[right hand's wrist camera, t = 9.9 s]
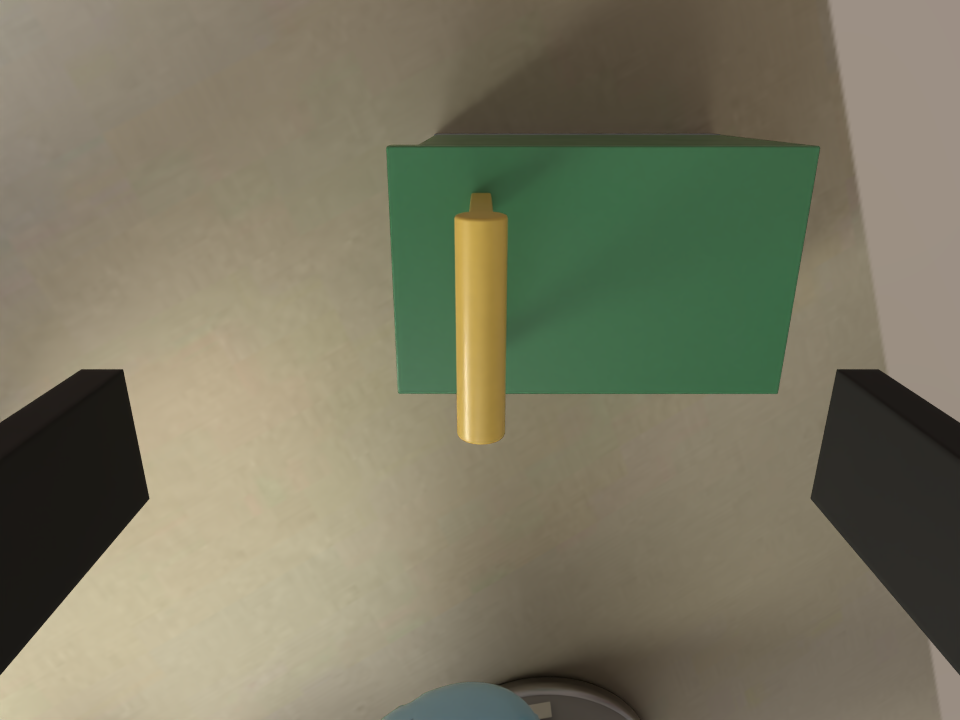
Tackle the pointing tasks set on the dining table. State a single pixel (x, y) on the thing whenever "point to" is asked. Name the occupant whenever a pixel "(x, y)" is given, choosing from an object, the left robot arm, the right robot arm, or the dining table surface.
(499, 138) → the chest
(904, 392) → the right robot arm
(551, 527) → the dining table surface
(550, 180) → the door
